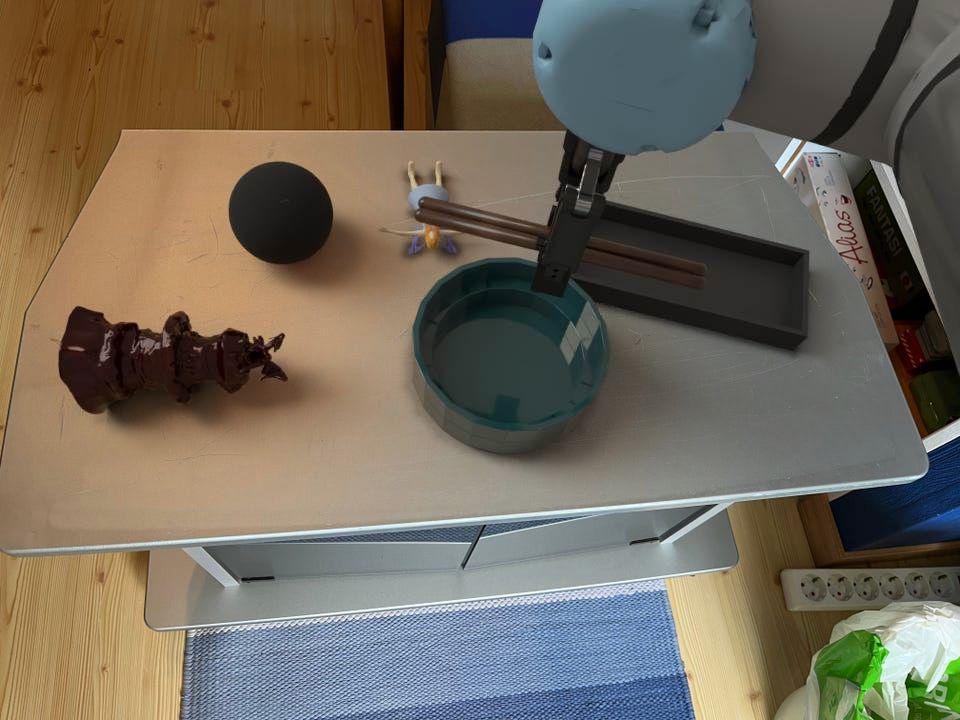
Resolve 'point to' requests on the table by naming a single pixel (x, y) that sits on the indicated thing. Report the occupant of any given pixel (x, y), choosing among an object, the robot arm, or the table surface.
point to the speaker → (280, 213)
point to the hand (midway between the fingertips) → (550, 275)
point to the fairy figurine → (417, 192)
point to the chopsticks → (528, 232)
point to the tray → (706, 277)
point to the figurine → (155, 359)
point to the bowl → (507, 356)
